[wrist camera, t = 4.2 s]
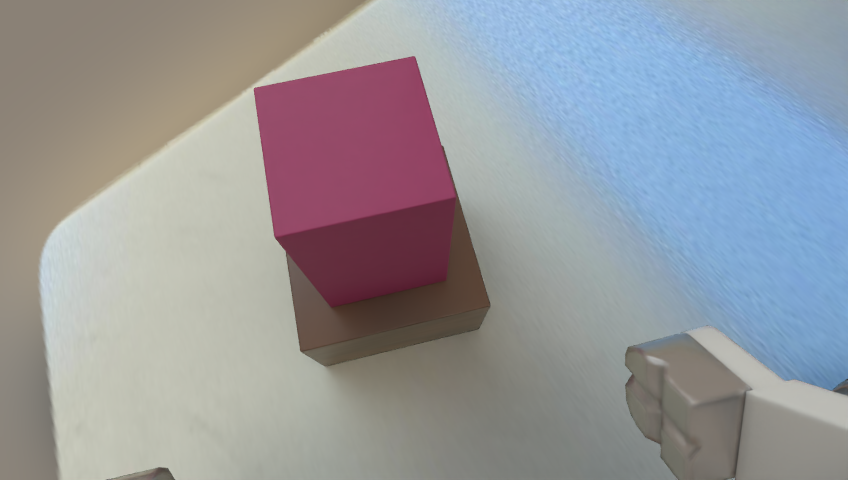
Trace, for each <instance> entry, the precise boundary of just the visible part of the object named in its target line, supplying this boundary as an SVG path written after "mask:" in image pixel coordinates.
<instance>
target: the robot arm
mask: <svg viewBox="0 0 848 480" xmlns="http://www.w3.org/2000/svg"><path fill="white" fill-rule="evenodd" d="M625 366H626V367H627V368H628V369H629V370H630V372H631V373H632V376H631V377H630V379H629V380H628V382H627V383H626V385H625V389H626V401H627V404H628V407H629V411H630V414H631V416H632V418H633V420H634V421H635V423H636V425H637V427H638V428H639V429H640V431H641V432H642V433H643V435H644V436H645V437H646V438H648V439H650V440H652V441H654V442H657V443H659V444H661V459H662V460H663V461H664V462H665V464H666V465H667V466H668V468H669V469H670V470H671V471H672V473H673V474H674V475H675V477H676V478H677V479H678V480H726V479H730V478H734V477H735V480H848V396H846V395H843V394H840V393H837V392H834V391H830V390H827V389H824V388H821V387H818V386H814V385H811V384H808V383H805V382H802V381H798V380H795V379H793V380H789V381H784V380H783V379H782V378H780V377H779V376H778V375H776V374H775V373H774V372H773V371H771V370H770V369H769V368H767V367H766V366H765V365H763V364H762V363H761V362H760V361H758V360H757V359H756V358H754V357H753V356H752V355H750V354H749V353H748V352H747V351H745V350H744V349H743V348H741V347H740V346H739V345H737V344H736V343H735V342H734V341H732V340H731V339H730V338H728V337H727V336H726V335H724V334H723V333H722V332H721V331H719V330H718V329H717V328H715V327H712V326H708V325H706V326H703V327H699V328H695V329H692V330H688V331H684V332H681V333H680V334H675V335H671V336H667V337H664V338H660V339H656V340H652V341H649V342H645V343H641V344H637V345H633V346H630V347H628V348H627V351H626V353H625ZM107 480H175V479H174V477H173V476H172V474H171V473H170V471H169V469H168V468H161V467H159V468H155V469H151V470H146V471H142V472H138V473H133V474H129V475H125V476H120V477H116V478H112V479H107Z"/></svg>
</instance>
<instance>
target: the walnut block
mask: <svg viewBox="0 0 848 480" xmlns="http://www.w3.org/2000/svg"><path fill="white" fill-rule="evenodd" d="M442 149H443V152H444V156H445V159H446V162H447V166H448V169H449V173H450V176H451V179H452V183H453V186H454V190H455V193H456V196H457V197H456V205H455V213H454V222H453V230H452V238H451V247H450V255H449V263H448V272H447V280H446V281H441V282H437V283H433V284H429V285H424V286H420V287H416V288H412V289H407V290H403V291H399V292H395V293H390V294H386V295H382V296H378V297H374V298H369V299H365V300H361V301H357V302H352V303H348V304H344V305H340V306H335V307H330V306H329V304H328V303H327V302H326V301H325V299H324V298H323V297H322V296H321V294H320V293H319V292H318V291H317V289H316V288H315V287H314V286H313V284H312V283H311V282H310V281H309V279H308V278H307V277H306V276H305V274H304V273H303V272H302V271H301V270H300V268H299V267H298V266H297V265H296V263H295V262H294V261H293V260H292V258H291V257H290V256H289V255H288V253H287V252H286V257H287V264H288V270H289V277H290V284H291V291H292V297H293V304H294V311H295V318H296V324H297V331H298V338H299V345H300V351H301V352H302V353H304V354H305V355H307V356H309V357H310V358H312V359H314V360H315V361H317V362H319V363H320V364H322V365H324V366H329V365H333V364H337V363H341V362H346V361H350V360H354V359H358V358H362V357H366V356H370V355H374V354H378V353H382V352H386V351H390V350H395V349H399V348H403V347H407V346H411V345H415V344H419V343H423V342H427V341H431V340H435V339H439V338H443V337H448V336H452V335H456V334H460V333H464V332H468V331H472V330H476V329H479V327H480V325H481V323H482V321H483V319H484V317H485V315H486V313H487V311H488V309H489V307H490V302H489V299H488V296H487V292H486V289H485V285H484V282H483V279H482V275H481V272H480V269H479V265H478V262H477V258H476V255H475V252H474V248H473V245H472V242H471V238H470V235H469V232H468V228H467V225H466V221H465V218H464V215H463V211H462V208H461V205H460V201H459V198H458V194H457V191H456V188H455V184H454V181H453V178H452V174H451V171H450V167H449V164H448V161H447V157H446V154H445V151H444V147H443V146H442Z"/></svg>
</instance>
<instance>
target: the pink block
mask: <svg viewBox="0 0 848 480" xmlns="http://www.w3.org/2000/svg"><path fill="white" fill-rule="evenodd" d="M254 95H255V102H256V109H257V116H258V123H259V130H260V137H261V144H262V152H263V159H264V166H265V173H266V180H267V187H268V194H269V201H270V208H271V216H272V223H273V230H274V237H275V238H276V240H277V241H278V242H279V243H280V245H281V246H282V247H283V248H284V250H285V251H286V252H287V253H288V255H289V256H290V257H291V258H292V260H293V261H294V262H295V263H296V265H297V266H298V267H299V268H300V270H301V271H302V272H303V273H304V274H305V276H306V277H307V278H308V279H309V281H310V282H311V283H312V284H313V286H314V287H315V288H316V289H317V291H318V292H319V293H320V294H321V296H322V297H323V298H324V299H325V301H326V302H327V303H328V304H329V306H330V307H335V306H340V305H344V304H348V303H352V302H357V301H361V300H365V299H369V298H374V297H378V296H382V295H386V294H390V293H395V292H399V291H403V290H407V289H412V288H416V287H420V286H424V285H429V284H433V283H437V282H441V281H446V280H447V272H448V263H449V255H450V247H451V238H452V230H453V222H454V213H455V205H456V197H457V196H456V193H455V190H454V186H453V183H452V179H451V176H450V173H449V169H448V166H447V162H446V159H445V156H444V152H443V149H442V146H441V142H440V139H439V135H438V132H437V129H436V125H435V122H434V118H433V115H432V112H431V108H430V105H429V102H428V98H427V95H426V91H425V88H424V85H423V81H422V78H421V74H420V71H419V68H418V64H417V61H416V58H415V56H413V57H408V58H403V59H398V60H393V61H388V62H383V63H377V64H372V65H367V66H362V67H357V68H352V69H347V70H342V71H337V72H332V73H327V74H322V75H317V76H312V77H307V78H302V79H297V80H292V81H287V82H282V83H277V84H272V85H267V86H262V87H257V88H254Z"/></svg>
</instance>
